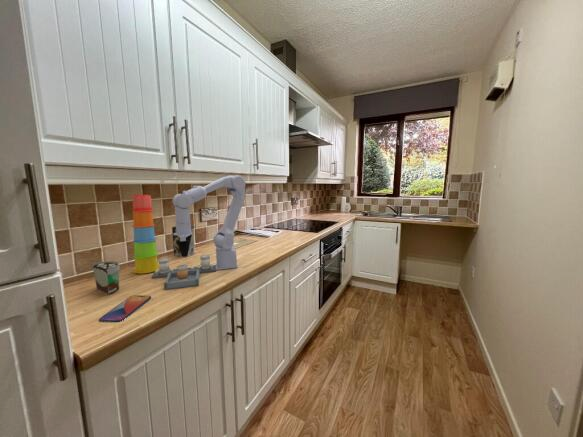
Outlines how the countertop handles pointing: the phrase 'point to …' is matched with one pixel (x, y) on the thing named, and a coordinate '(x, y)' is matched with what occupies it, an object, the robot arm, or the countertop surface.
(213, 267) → the board
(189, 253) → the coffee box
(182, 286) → the tray
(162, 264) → the ball
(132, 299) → the smartphone
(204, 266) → the cylinder
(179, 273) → the marked fuse
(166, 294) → the countertop surface
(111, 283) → the food container
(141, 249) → the stacking cups
